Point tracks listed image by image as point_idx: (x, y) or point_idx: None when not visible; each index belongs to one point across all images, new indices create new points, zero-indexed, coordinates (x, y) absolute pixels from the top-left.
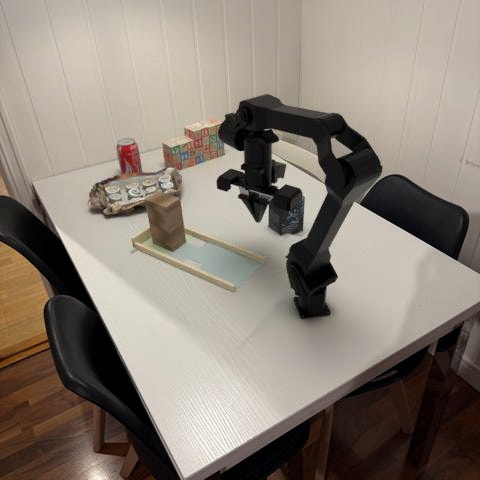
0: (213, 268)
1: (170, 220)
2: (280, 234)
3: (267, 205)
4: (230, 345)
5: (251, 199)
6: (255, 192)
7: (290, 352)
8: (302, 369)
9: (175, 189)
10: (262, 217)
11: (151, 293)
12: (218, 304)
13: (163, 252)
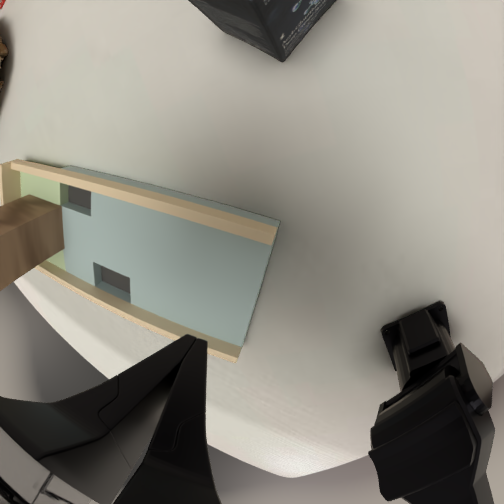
0: (156, 287)
1: (4, 280)
2: (279, 56)
3: (206, 445)
4: (282, 418)
5: (107, 493)
6: (67, 484)
7: (373, 415)
8: None
9: (3, 44)
10: (206, 359)
11: (112, 341)
12: (224, 360)
13: (56, 254)
